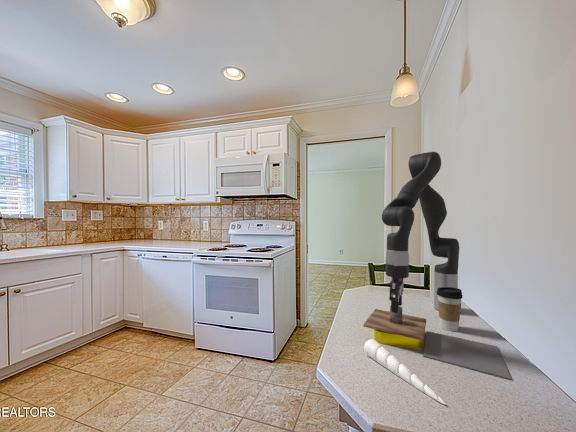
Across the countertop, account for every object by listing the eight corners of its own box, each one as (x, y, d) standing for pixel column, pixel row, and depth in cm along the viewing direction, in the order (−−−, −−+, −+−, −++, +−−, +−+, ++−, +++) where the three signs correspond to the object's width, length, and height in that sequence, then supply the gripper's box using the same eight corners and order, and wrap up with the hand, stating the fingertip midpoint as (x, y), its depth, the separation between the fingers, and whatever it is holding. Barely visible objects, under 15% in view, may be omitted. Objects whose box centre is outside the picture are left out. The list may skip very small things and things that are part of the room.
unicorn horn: (433, 412, 53) (434, 389, 54) (362, 355, 76) (362, 339, 76) (449, 406, 55) (449, 384, 55) (375, 352, 77) (375, 336, 77)
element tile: (424, 351, 79) (424, 336, 79) (374, 343, 84) (374, 329, 84) (416, 331, 93) (416, 318, 93) (373, 325, 98) (373, 313, 98)
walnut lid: (375, 310, 101) (375, 296, 101) (426, 321, 92) (426, 305, 92) (363, 326, 86) (363, 309, 86) (423, 340, 76) (423, 321, 76)
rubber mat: (426, 332, 92) (426, 330, 92) (497, 347, 82) (497, 346, 82) (423, 356, 75) (423, 355, 75) (511, 380, 65) (511, 378, 65)
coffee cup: (466, 334, 91) (467, 292, 91) (441, 331, 93) (441, 290, 93) (456, 324, 99) (456, 286, 100) (432, 322, 101) (433, 285, 101)
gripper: (389, 259, 97) (389, 301, 97) (381, 264, 85) (381, 312, 84) (411, 261, 93) (410, 305, 93) (406, 267, 81) (405, 317, 80)
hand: (396, 308), depth 88 cm, fingers open, 8 cm apart
